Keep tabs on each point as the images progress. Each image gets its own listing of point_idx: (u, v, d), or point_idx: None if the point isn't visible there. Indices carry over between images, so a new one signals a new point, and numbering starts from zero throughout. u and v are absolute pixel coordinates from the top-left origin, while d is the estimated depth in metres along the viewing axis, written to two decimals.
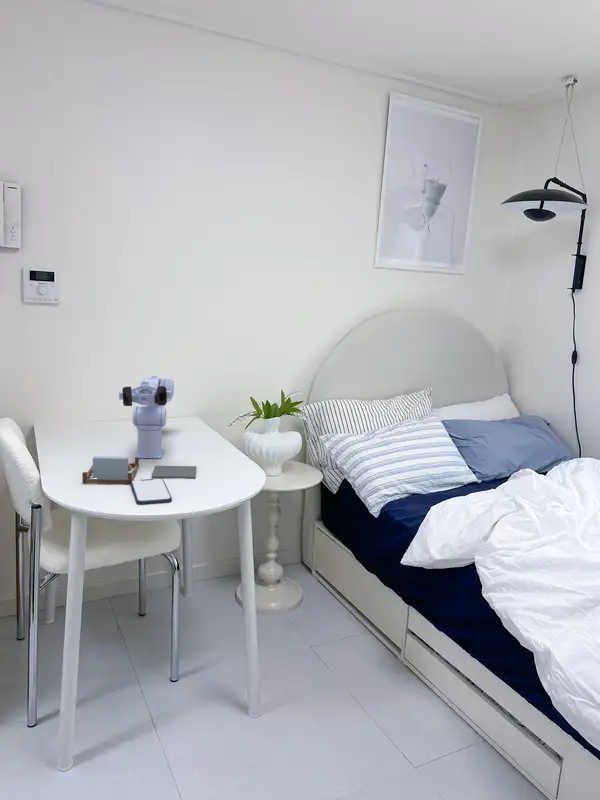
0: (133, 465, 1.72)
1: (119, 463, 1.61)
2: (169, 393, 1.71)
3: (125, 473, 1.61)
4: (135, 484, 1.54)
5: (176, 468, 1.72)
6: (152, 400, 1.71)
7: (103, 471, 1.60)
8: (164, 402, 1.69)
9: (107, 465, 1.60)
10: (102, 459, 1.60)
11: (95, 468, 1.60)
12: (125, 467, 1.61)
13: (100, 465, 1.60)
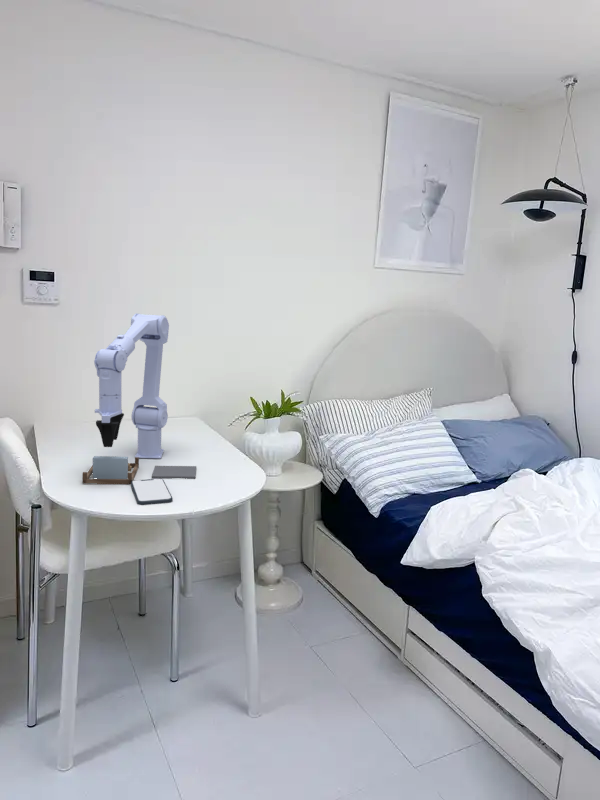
0: (133, 465, 1.72)
1: (119, 463, 1.61)
2: None
3: (125, 473, 1.61)
4: (135, 484, 1.54)
5: (176, 468, 1.72)
6: None
7: (103, 471, 1.60)
8: (113, 428, 1.54)
9: (107, 465, 1.60)
10: (102, 459, 1.60)
11: (95, 468, 1.60)
12: (125, 467, 1.61)
13: (100, 465, 1.60)
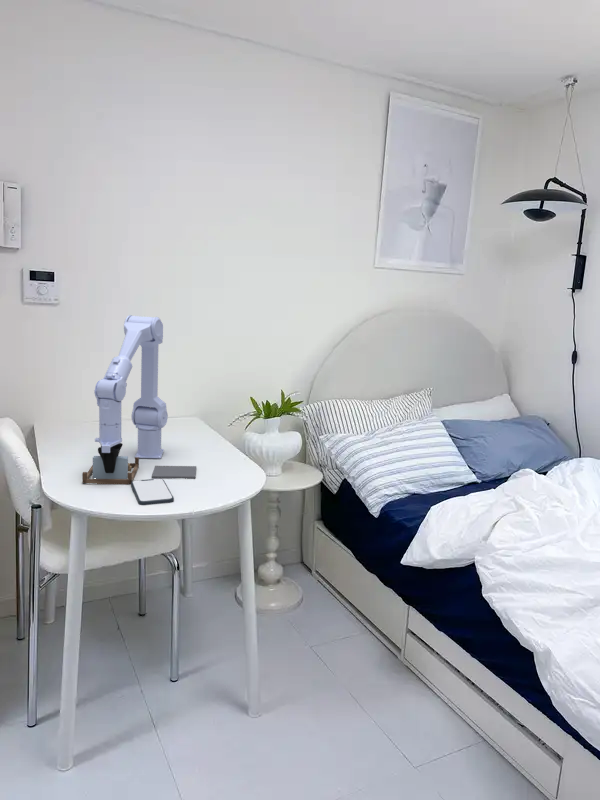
0: (133, 465, 1.72)
1: (119, 463, 1.60)
2: None
3: (125, 473, 1.61)
4: (136, 484, 1.54)
5: (176, 468, 1.72)
6: None
7: (103, 471, 1.60)
8: (115, 455, 1.58)
9: None
10: None
11: (95, 468, 1.60)
12: (125, 467, 1.61)
13: (100, 465, 1.60)
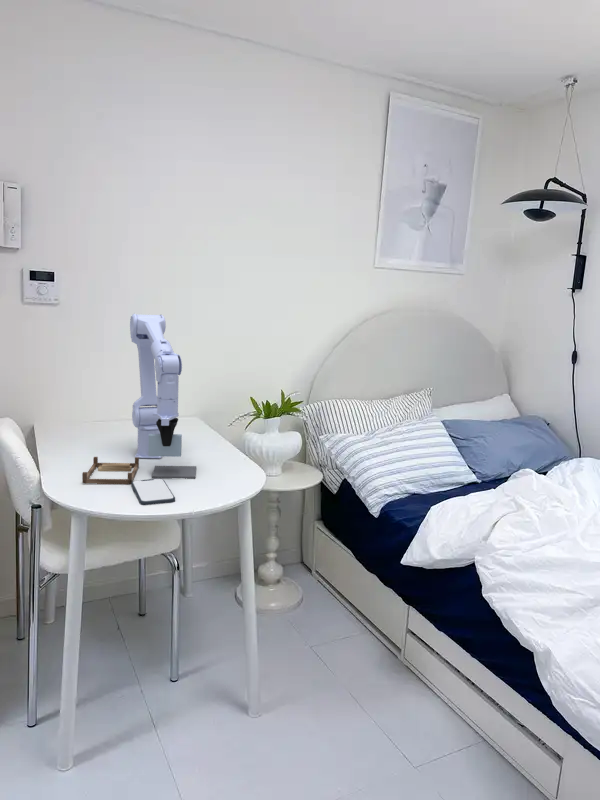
0: (133, 465, 1.72)
1: (173, 441, 1.66)
2: None
3: (179, 450, 1.67)
4: (136, 485, 1.54)
5: (176, 468, 1.72)
6: None
7: (158, 449, 1.66)
8: (172, 428, 1.63)
9: None
10: (157, 437, 1.65)
11: (151, 445, 1.65)
12: (179, 444, 1.66)
13: (155, 442, 1.65)
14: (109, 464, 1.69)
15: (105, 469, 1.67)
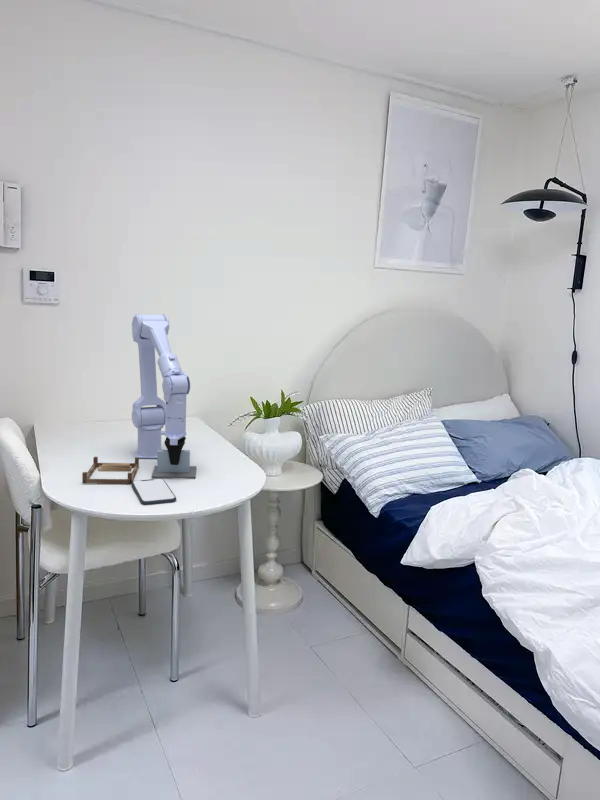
0: (133, 465, 1.72)
1: (182, 457, 1.68)
2: None
3: (188, 466, 1.68)
4: (137, 485, 1.54)
5: None
6: None
7: (167, 464, 1.68)
8: (180, 447, 1.65)
9: None
10: (166, 453, 1.67)
11: (160, 461, 1.67)
12: (188, 460, 1.68)
13: (164, 458, 1.67)
14: (109, 464, 1.69)
15: (105, 469, 1.67)
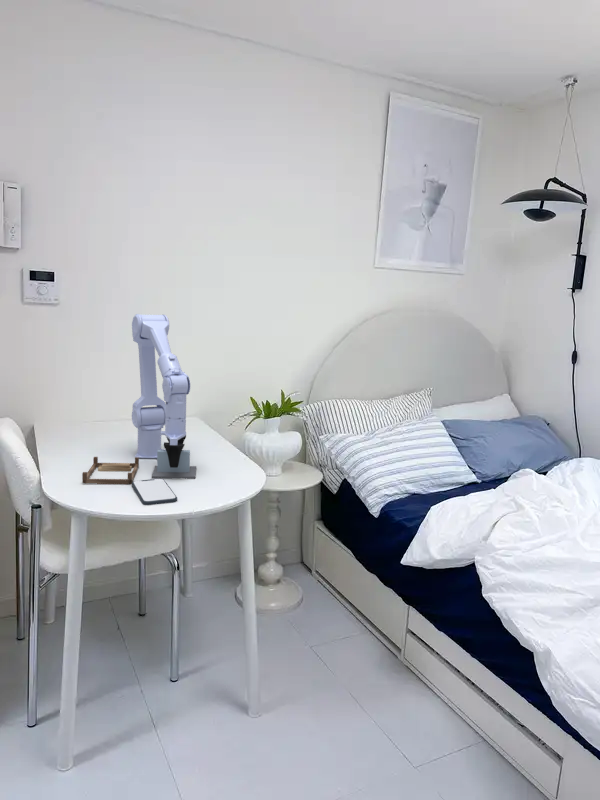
0: (133, 465, 1.72)
1: (182, 457, 1.68)
2: None
3: (188, 466, 1.68)
4: (137, 485, 1.54)
5: None
6: None
7: (167, 464, 1.68)
8: (180, 449, 1.63)
9: None
10: (166, 453, 1.67)
11: (160, 461, 1.67)
12: (188, 460, 1.68)
13: (164, 458, 1.67)
14: (109, 464, 1.69)
15: (105, 469, 1.67)
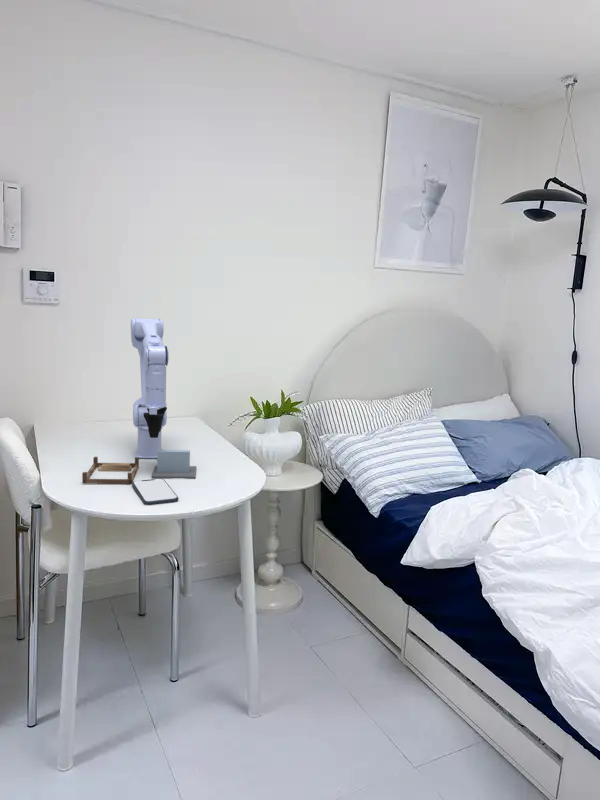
0: (133, 465, 1.72)
1: (182, 457, 1.68)
2: (151, 414, 1.62)
3: (188, 466, 1.68)
4: (138, 485, 1.54)
5: None
6: None
7: (167, 464, 1.68)
8: (160, 419, 1.64)
9: (171, 458, 1.67)
10: (166, 453, 1.67)
11: (160, 461, 1.67)
12: (188, 460, 1.68)
13: (164, 458, 1.67)
14: (109, 464, 1.69)
15: (105, 469, 1.67)
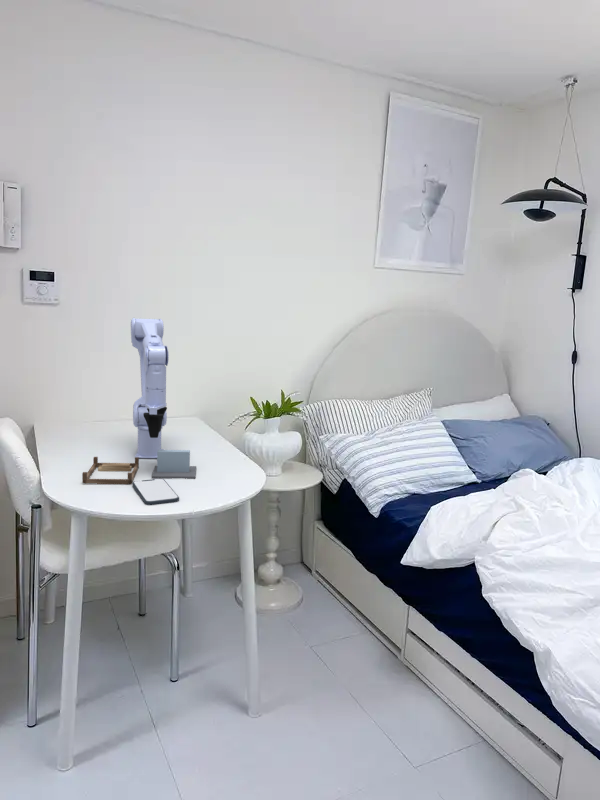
0: (133, 465, 1.72)
1: (182, 457, 1.68)
2: (151, 414, 1.62)
3: (188, 466, 1.68)
4: (138, 485, 1.54)
5: None
6: None
7: (167, 464, 1.68)
8: (160, 419, 1.64)
9: (171, 458, 1.67)
10: (166, 453, 1.67)
11: (160, 461, 1.67)
12: (188, 460, 1.68)
13: (164, 458, 1.67)
14: (109, 464, 1.69)
15: (105, 469, 1.67)
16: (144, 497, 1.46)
